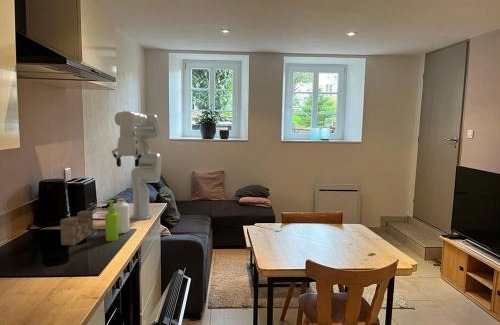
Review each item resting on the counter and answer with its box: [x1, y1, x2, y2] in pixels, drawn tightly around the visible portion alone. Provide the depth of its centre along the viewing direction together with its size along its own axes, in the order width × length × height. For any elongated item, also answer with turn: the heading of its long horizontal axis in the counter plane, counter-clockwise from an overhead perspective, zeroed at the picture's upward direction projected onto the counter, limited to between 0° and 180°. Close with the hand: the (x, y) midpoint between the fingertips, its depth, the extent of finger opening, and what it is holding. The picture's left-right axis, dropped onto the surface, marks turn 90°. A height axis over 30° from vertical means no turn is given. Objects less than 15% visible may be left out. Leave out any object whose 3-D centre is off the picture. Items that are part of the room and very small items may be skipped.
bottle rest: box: [59, 210, 94, 246], centre depth 181 cm, size 20×6×12 cm, turn 178°
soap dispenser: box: [102, 199, 119, 242], centre depth 180 cm, size 6×7×20 cm
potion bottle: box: [113, 198, 130, 235], centre depth 193 cm, size 8×8×18 cm
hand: (127, 166), depth 193 cm, fingers open, 9 cm apart
